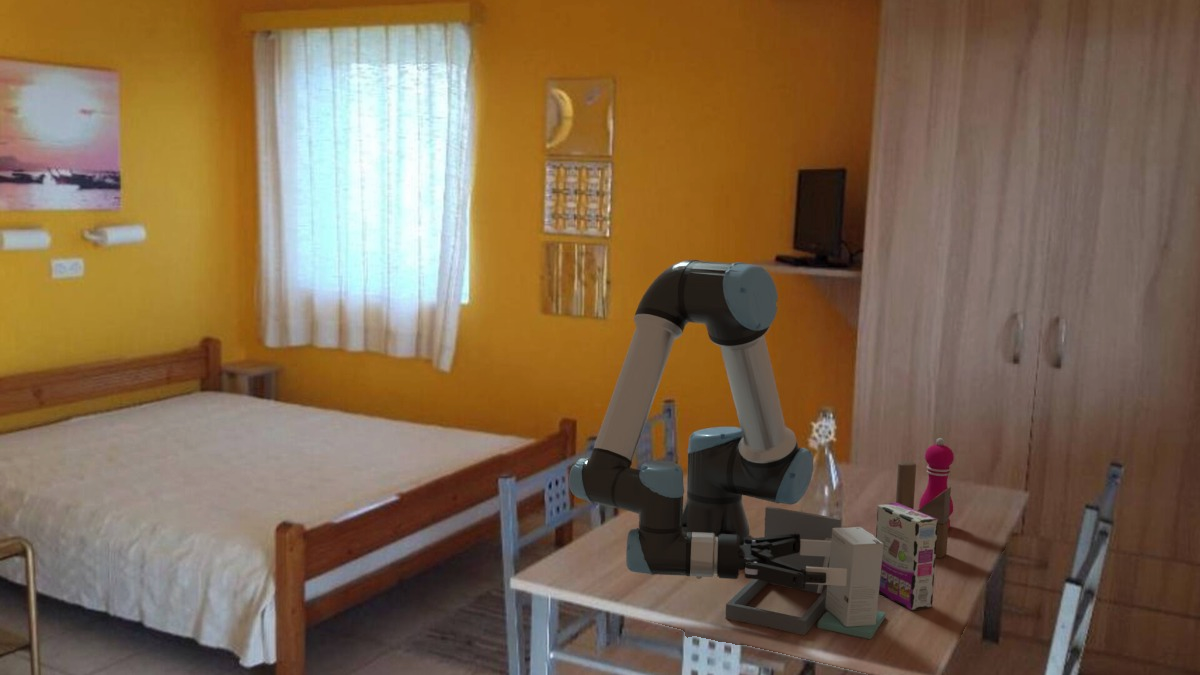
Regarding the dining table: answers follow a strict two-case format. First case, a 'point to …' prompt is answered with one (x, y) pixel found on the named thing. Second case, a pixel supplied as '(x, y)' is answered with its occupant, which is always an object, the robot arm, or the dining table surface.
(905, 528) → the candy bar box
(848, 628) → the pad
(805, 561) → the case
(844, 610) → the skincare box
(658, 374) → the robot arm
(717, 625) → the dining table surface
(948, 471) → the pepper mill
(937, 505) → the wooden peg stand
